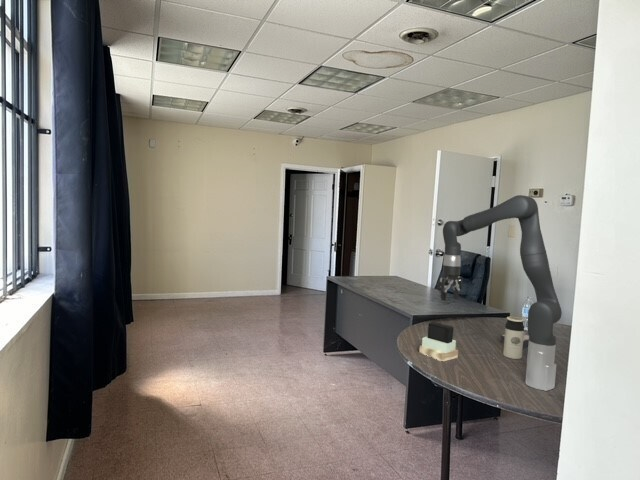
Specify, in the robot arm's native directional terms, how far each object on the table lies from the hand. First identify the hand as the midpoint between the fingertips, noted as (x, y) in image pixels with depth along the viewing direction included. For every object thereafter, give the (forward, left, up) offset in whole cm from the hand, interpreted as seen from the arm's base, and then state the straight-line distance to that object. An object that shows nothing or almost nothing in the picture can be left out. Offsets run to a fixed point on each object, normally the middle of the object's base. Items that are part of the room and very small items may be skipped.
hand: (449, 299), depth 193 cm
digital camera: (0, +4, -19) cm, 19 cm away
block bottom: (+1, +4, -26) cm, 27 cm away
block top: (+1, +4, -22) cm, 23 cm away
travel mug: (-16, -27, -26) cm, 41 cm away
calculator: (-4, -50, -26) cm, 57 cm away
